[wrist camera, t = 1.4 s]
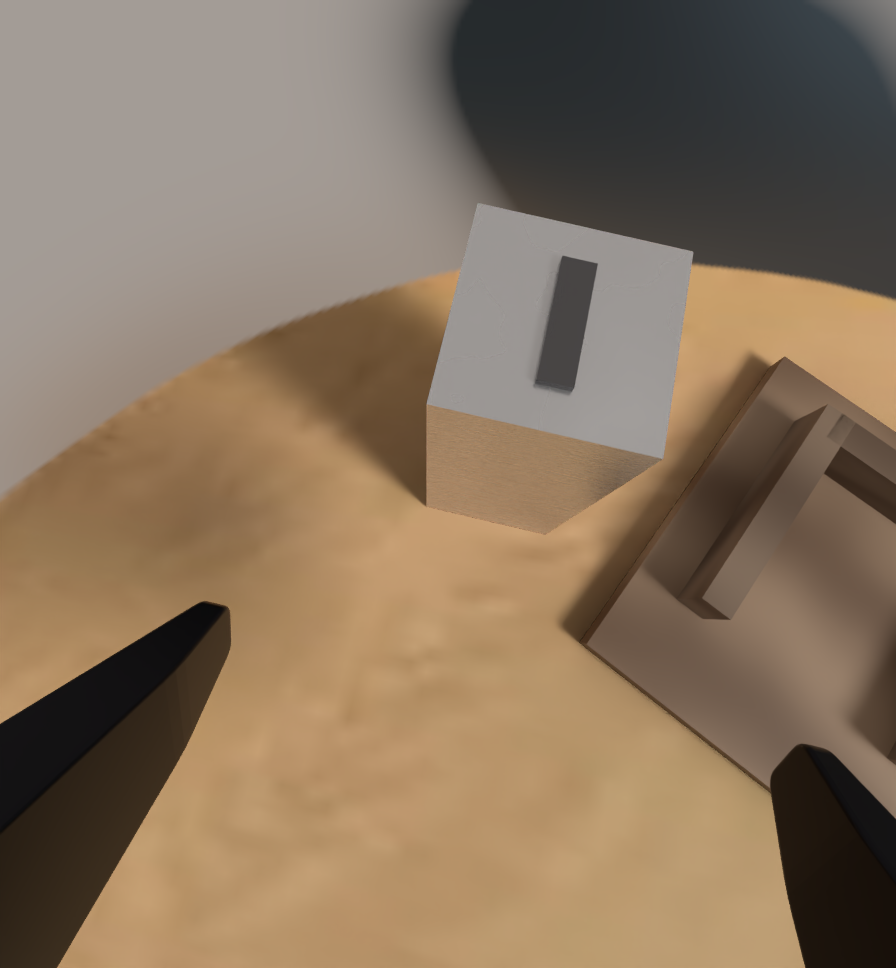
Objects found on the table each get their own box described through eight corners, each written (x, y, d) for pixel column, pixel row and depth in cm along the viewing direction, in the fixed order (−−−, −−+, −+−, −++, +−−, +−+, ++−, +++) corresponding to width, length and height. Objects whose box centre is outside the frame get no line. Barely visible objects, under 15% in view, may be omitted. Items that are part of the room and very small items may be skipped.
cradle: (892, 888, 20) (971, 935, 17) (579, 642, 22) (603, 647, 19) (1055, 562, 23) (1147, 555, 20) (770, 366, 25) (816, 333, 22)
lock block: (545, 534, 23) (667, 456, 11) (426, 506, 23) (426, 400, 11) (567, 421, 24) (697, 245, 12) (453, 395, 24) (478, 196, 12)
